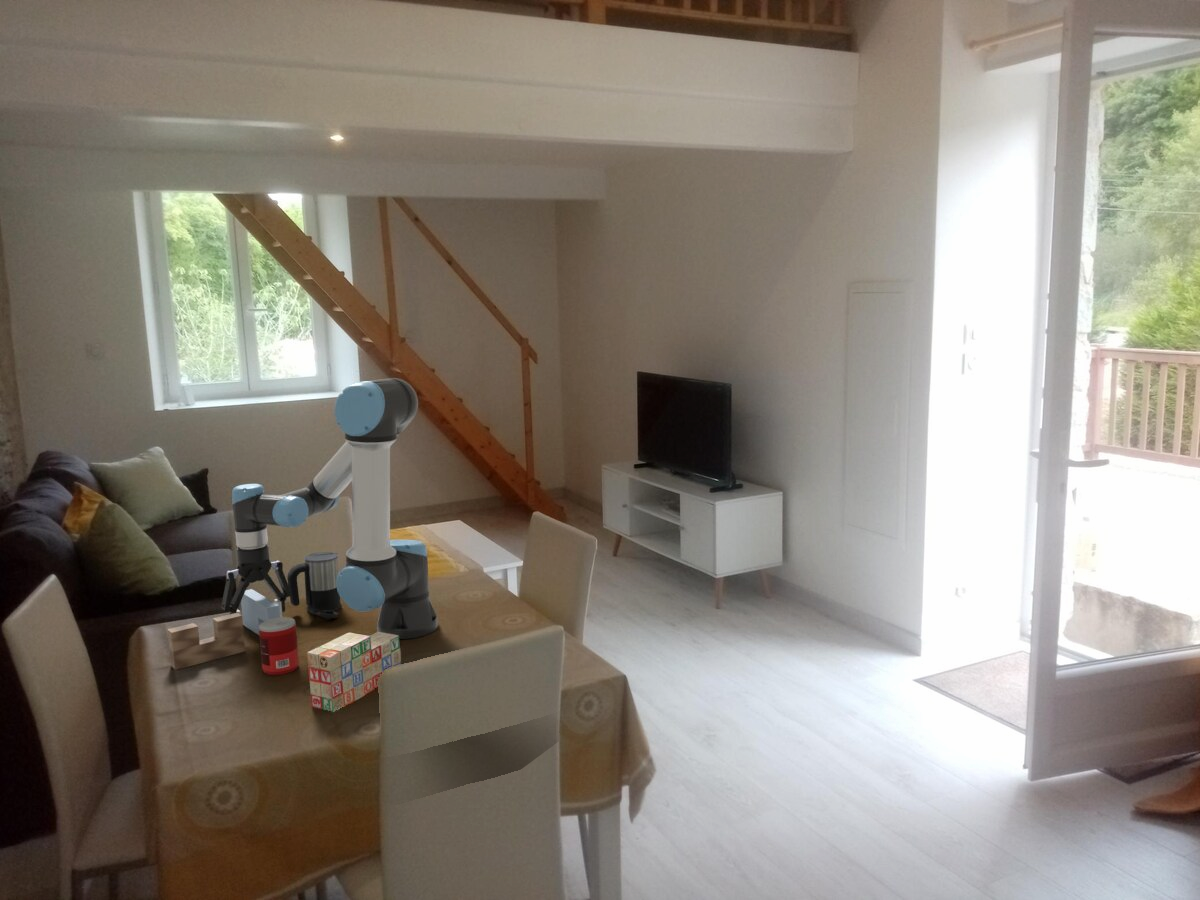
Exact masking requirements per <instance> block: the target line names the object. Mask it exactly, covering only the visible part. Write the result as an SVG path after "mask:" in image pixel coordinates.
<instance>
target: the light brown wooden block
mask: <svg viewBox="0 0 1200 900" xmlns="http://www.w3.org/2000/svg"><path fill="white" fill-rule="evenodd" d="M212 623H213V624H212V625H213V634H214V636H212V637H211V636H210V637H207V638H204V639H200V635H199V634H200V633H199V626H198V625H197V624H196V623H194V622H192V623H187V624H185V625H180V626H176V627H171V628H168V629H167V639H168V649H169V658H170V659H169V660H170V666H171V667H172V668H173V669H174V671H177V670H181V669H184V668H188V667H191V666H195V665H199V664H203V663H207V662H210V661H214V660H218V659H221V658H225V657H229V656H232V655H236V654H241V653H245V652H246V646H245V634H244V625H243V618H242V614H241V615H240V614H239V613H233V614H230V613H229V614H226V615H225V614H224V615H222V616H221V615H220V616H217V617H213V618H212Z"/></svg>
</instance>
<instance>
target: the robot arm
mask: <svg viewBox="0 0 1200 900" xmlns="http://www.w3.org/2000/svg"><path fill="white" fill-rule="evenodd" d="M418 408H419V398H418V395H417V392H416V391H415V388H413V386H412V385H411V384H410V383H409V382H407V381H405V380H404V379H402V378H396V377H388V378H387V377H386V378H382V379H373V380H367V381H366V380H364V381H363V380H361V381H358V382H357V383H353V384H350V385H348V386H346V387H345V388H344V389H343V390H342V391H341V392H340V393H339V394H338V396H337V398H336V399H335V404H334V410H333V411H334V412H333V414H334V419H335V422H336V424H337V425H339V429H340V430H341V431H342V432H343V433H344V440H345V442H344V444H342V446H340V448H339V449H338V451H337V452H336V453H335V454H334V455H333V456H332V457H331V459H329V461H328V462H326V464H325V465H324V466H323V467H322V468H321V470H319V472H318V473H317V474H316V475H315V476H314V478H313V479H312V480H311V482H310V483H309V484H308V485H307V486H305V487H303V488H300V489H296V490H293V491H290V492H289V491H288V492H287V493H282V494H269V493H265V492H266V491H265V490H264V486H263V485H262V484H260V483H246V484H245V483H244V484H239V485H237V486H235V487H233V489H232V492H231V493H232V495H231V496H232V497H231V500H232V502H231V505H232V509H233V510H232V511H233V521H234V522H233V523H234V532H235V533H234V534H235V544H236V546H237V548H236V557H237V567H236V569H233V570H229V569H228V570H226V571H225V572H224V573H225V586H224V591H223V594H222V595H223V596H222V601H221V607H220V608H221V609H222V610H223V611H225V612H229V614H233V613H239V614H240V615H242V612H241V610H239V606H240V605H241V600H242V598H243V595H244V593H245V591H246V590H248V587H249V586H250V584H253V583H255V582H262V581H264V582H265V583H266V585H267V586H268V587H269V589H270V590H271V592H272V593H273V594H274V595H275V597H276V598H275V599H274V600H273V602H274V603H276V604H278V605H279V609H280V617H283V613H284V612H285V611H286V601H287V598H290V596H291V595H292V593H291V591H290V588H289V586H288V580H287V578H286V576H285V573H284V571H283V567H284V565H283V562H282V561H280V560H277V559H276V560H274V561H270V550H269V549H270V548H269V544H268V542H269V536H268V526H277V527H283V528H291V527H292V528H295V527H300V526H302V525H303V524H304V523H305V521H307V519H308V518H310V517H312V516H317V515H319V514H324V513H326V512H328V511H330V510H333V509H334V508H335V507H336V506H337V505H338V503H339V498H340V494H341V493H342V492H343V491H344V490H345V489H346V488H347V487H348V486H349V485H350V483H351V486H352V487H351V493H352V496H351V497H352V499H351V503H352V506H351V507H352V546H351V547H350V548H349V549H347V550H346V553H345V567H343V568H342V569H341V570H340V572H338V576H337V580H336V586H337V591H338V593H339V596H340V600H341V601H343V602H344V603H345V604H346V606H348V607H349V609H351V610H354V611H356V612H361V613H363V612H364V613H366V612H370V611H373V610H376V609H379V608H380V611H379V615H378V619H377V621H376V622H377V623H376V629H377V630H376V631H377V632H382V633H387V634H394V635H398V636H399V640H407V639H415V638H420V637H425V636H427V635H429V634H431V633H433V632H435V631H436V630H437V629H438V626H439V624H438V616H437V613H436V611H435V608H434V606H433V604H432V603H433V602H432V601H431V598H430V584H429V582H430V581H429V567H428V564H429V562H428V557H429V556H428V551H427V545H426V544H425V543H424V542H423V541H420V540H416V539H403V538H402V539H391V446H392V445H393V444H394V443H395V442H396V441H397V438H398V437H397V436H399V435H400V434H401V433H402V432H403V431H404V430H405V429H406V428H407V427H408V425H410V424H411V422H412V421H413V419H414V417H416V415H417V411H418ZM271 568H272V569H273V570H274V572H275V575H276V578H277V580H278V583H279V585H280V586H279V587H280V588H281V590H280V589H279V587H278V586H277V585H276V583H275V582H274V581H273V579H272V577H271V576H270V575H269V572H270V570H271ZM238 575H239V576H240V578H239V582H238V586H237V589H236V590H235V592H234V587H235V582H236V581H235V579H237V576H238ZM233 593H234V595H233Z"/></svg>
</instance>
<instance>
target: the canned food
mask: <svg viewBox="0 0 1200 900" xmlns="http://www.w3.org/2000/svg"><path fill="white" fill-rule="evenodd" d="M296 624H297V623H296V620H295V619H294V618H292V617H285V616H282V617H280V618H273V619H269V620H266V621H264V622H262V623H261V624H260V625H259V635H258V636H259V646H260V647H259V648H260V656H261V667H262V672H263V673H264V674H266V675H269V676H280V675H286V674H289V673H291V672H293V671H295V670H296V669H298V666H299V651H298V637H297V636H298V635H297V626H296Z"/></svg>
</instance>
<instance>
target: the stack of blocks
mask: <svg viewBox="0 0 1200 900" xmlns="http://www.w3.org/2000/svg"><path fill="white" fill-rule="evenodd" d="M401 653H402V652H401V648H400V639H399V636H398V635H394V634H387V633H382V632H375V633H373V634H371V635H365V634H359V633H353V632H347V633H345V634H343V635H340V636H339V637H336V638H334V639H332V640H331V641H328V642H326V643H324V644H322V645H320V646H317V647H316V648H313V649H311V650H309V651H308V652H307V654H306V655H307V664H308V666H307V671H308V680H309V689H310V690H309V691H310V704H311V708H313V707H314V709H317V708H318V710H321V709H323V710H322V711H325V710H328V711H327V712H329V711H331V712H330V713H333V712H334V713H335V711H336V710H337V711H339V710H340V708H341V709H342V707H343V708H345V707H347V706H349V705H351V704H353V703H354V702H355V701H357V700H359V699H361V698H363V697H364V696H366V695H367V694H369V693H371V692H372V691H374V690H376V689H378V688H377V682H378V678H379V677H380V675H381V674H382V672H383V671H384V670H385V669H387V668H389V667H392V666H396V665H399V664H401V665H402V654H401ZM375 688H376V689H375ZM348 704H349V705H348ZM346 705H347V706H346ZM337 711H336V712H337Z"/></svg>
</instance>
